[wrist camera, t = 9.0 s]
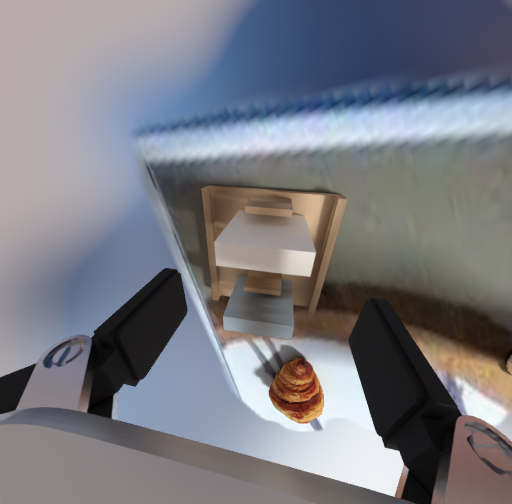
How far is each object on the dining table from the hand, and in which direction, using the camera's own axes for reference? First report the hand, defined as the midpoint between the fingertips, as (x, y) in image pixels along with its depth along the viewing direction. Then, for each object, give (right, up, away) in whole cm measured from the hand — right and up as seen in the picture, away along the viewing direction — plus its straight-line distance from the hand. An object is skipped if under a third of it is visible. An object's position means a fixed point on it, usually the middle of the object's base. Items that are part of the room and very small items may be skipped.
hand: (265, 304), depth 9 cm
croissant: (+8, -23, +27) cm, 37 cm away
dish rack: (+1, +3, +13) cm, 14 cm away
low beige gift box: (+1, +6, +10) cm, 12 cm away
